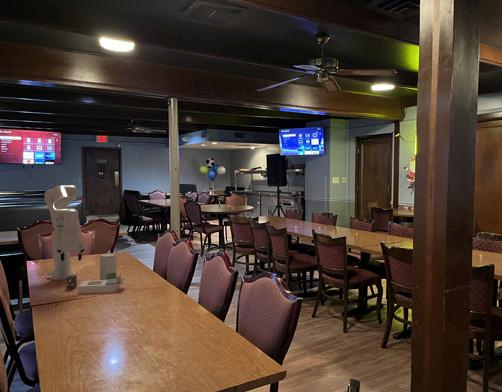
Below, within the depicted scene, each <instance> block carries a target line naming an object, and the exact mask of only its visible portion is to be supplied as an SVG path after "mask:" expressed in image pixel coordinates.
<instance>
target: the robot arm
mask: <svg viewBox="0 0 502 392" xmlns="http://www.w3.org/2000/svg"><path fill="white" fill-rule="evenodd" d="M77 197H78V189H77V187H76V186H75V185H74V184H73V185H72V184H71V185H70V184H69V185H65V184H63V185H62V184H61V185H56V186H54V187H53V188H51V189H47V190H45V192H44V201H45V204H46V206H47V208H48V209H49V213H50V219H51V224H52V228H54V230H53V231H52V232H51V241H52V250H53V271H47V272H46V274H47V276H51V280H53V281H61V280H62V281H63V280H64V281H65V280H67V277H68V276H69V275H74V274H73V273H71V272H72V271H71V252H77V253H78V254H77V258H78V259H77V260H78V262H79V261H81V260H82V259H83V253H84V252H85V250H86V249H87V247H88V246H87V245H86V244H84V243H82V242H81V241H82V238H83V235H82V228H81V225H80V218H79V211H78V209H76V208H67V207H68V206H70V204H71V202H73V201H74V200H75V199H76V198H77ZM81 248H82V249H81Z"/></svg>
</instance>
